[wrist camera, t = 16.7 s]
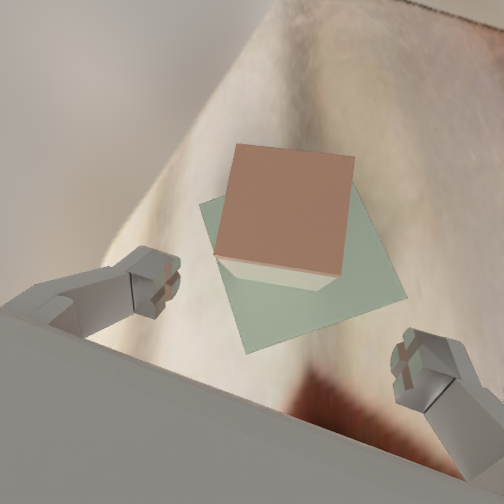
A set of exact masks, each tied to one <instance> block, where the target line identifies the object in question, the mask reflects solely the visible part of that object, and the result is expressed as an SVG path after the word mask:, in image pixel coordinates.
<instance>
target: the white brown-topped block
mask: <svg viewBox="0 0 504 504" xmlns="http://www.w3.org/2000/svg"><path fill="white" fill-rule="evenodd" d="M354 159H355V157H353V156H344V155H335V154H326V153H317V152H308V151H299V150H290V149H281V148H273V147H264V146H255V145H246V144H236V149H235V154H234V158H233V163H232V168H231V173H230V177H229V182H228V187H227V192H226V196H225V201H224V206H223V211H222V215H221V220H220V225H219V230H218V235H217V239H216V244H215V249H214V254H213V255H214V256H215V257H216V258H217V259H218V260H219V261H220V262H221V263H222V264H223V265H224V266H225V267H226V268H227V269H228V270H229V271H230V272H231V273H232V274H233V275H234V276H235V277H236V278H241V279H247V280H252V281H258V282H264V283H270V284H276V285H282V286H288V287H294V288H300V289H306V290H312V291H318V290H320V289H321V288H323V287H324V286H326V285H327V284H329V283H330V282H332V281H334V280H335V279H337V278H338V277H340V276H341V273H342V264H343V256H344V247H345V238H346V229H347V220H348V212H349V203H350V194H351V185H352V177H353V168H354Z"/></svg>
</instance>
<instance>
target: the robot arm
mask: <svg viewBox="0 0 504 504" xmlns="http://www.w3.org/2000/svg"><path fill="white" fill-rule="evenodd" d="M180 267H181V265H180V258H179V257H177V256H174V255H171V254H168V253H165V252H162V251H159V250H156V249H152V248H149V247H146V246H139V247H138V248H136V249H135V250H134V251H133V252H131V253H130V254H129V255H127V256H126V257H125V258H124V259H122V260H121V261H120V262H118V263H117V264H116V265H115V266H113V267H110V266H107V267H103V268H99V269H95V270H91V271H88V272H84V273H79V274H76V275H72V276H67V277H63V278H59V279H55V280H51V281H47V282H43V283H39V284H35V285H33V286H32V287H31V288H29V289H27V290H26V291H25V292H23V293H21V294H20V295H18V296H17V297H15V298H13V299H12V300H10V301H9V302H7V303H6V304H4V305H3V306H1V307H0V504H504V404H503V403H502V402H501V401H500V400H499V399H498V398H497V397H496V396H495V395H494V394H493V393H492V392H490V391H489V390H488V389H487V388H484V387H482V386H481V384H480V381H479V379H478V377H477V374H476V372H475V370H474V367H473V365H472V363H471V360H470V358H469V356H468V353H467V351H466V349H465V346H464V345H463V344H462V343H461V342H460V341H456V340H453V339H449V338H446V337H441V336H437V335H434V334H431V333H427V332H424V331H420V330H417V329H414V328H410V327H409V328H408V329H407V330H406V331H405V333H404V334H403V339H404V342H401V343H399V344H397V345H396V347H395V348H394V350H393V353H392V356H391V364H390V366H391V372H392V374H393V375H394V376H395V378H396V380H395V382H394V383H393V388H394V395H395V402H396V403H397V404H400V405H402V406H405V407H408V408H410V409H413V410H416V411H418V412H421V413H424V416H425V418H426V419H427V421H428V422H429V424H430V425H431V427H432V429H433V430H434V432H435V433H436V435H437V436H438V438H439V440H440V441H441V443H442V444H443V446H444V447H445V449H446V451H447V452H448V454H449V455H450V457H451V458H452V460H453V461H454V463H455V465H456V466H457V468H458V469H459V471H460V472H461V474H462V476H463V477H464V479H465V480H466V482H465V481H462V480H460V479H457V478H454V477H452V476H449V475H446V474H444V473H441V472H438V471H436V470H433V469H430V468H428V467H425V466H422V465H420V464H417V463H414V462H412V461H409V460H406V459H404V458H401V457H398V456H396V455H393V454H390V453H388V452H385V451H382V450H380V449H377V448H374V447H372V446H369V445H366V444H364V443H361V442H358V441H356V440H353V439H350V438H348V437H345V436H342V435H340V434H337V433H334V432H332V431H329V430H326V429H324V428H321V427H318V426H316V425H313V424H310V423H308V422H305V421H302V420H300V419H297V418H294V417H292V416H289V415H286V414H284V413H281V412H278V411H276V410H273V409H271V408H268V407H265V406H263V405H260V404H257V403H255V402H252V401H249V400H247V399H244V398H241V397H239V396H236V395H233V394H231V393H228V392H225V391H223V390H220V389H217V388H215V387H212V386H209V385H207V384H204V383H201V382H199V381H196V380H193V379H191V378H188V377H185V376H183V375H180V374H177V373H175V372H172V371H169V370H167V369H164V368H161V367H159V366H156V365H153V364H151V363H148V362H145V361H143V360H140V359H137V358H135V357H132V356H129V355H127V354H124V353H122V352H119V351H116V350H114V349H111V348H108V347H106V346H103V345H100V344H98V343H95V342H92V341H90V340H87V339H84V338H86V337H88V336H90V335H92V334H94V333H96V332H98V331H100V330H102V329H104V328H106V327H108V326H110V325H112V324H114V323H116V322H118V321H120V320H122V319H125V318H127V317H129V316H131V315H133V314H134V313H136V314H139V315H142V316H146V317H149V318H152V319H156V318H157V317H158V316H159V314H160V313H161V312H162V311H163V310H164V308H165V302H166V301H169V300H172V299H173V297H174V296H175V295H176V293H177V291H178V288H179V285H180V275H179V273H178V271H177V270H178V269H179V268H180Z"/></svg>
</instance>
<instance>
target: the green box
mask: <svg viewBox="0 0 504 504" xmlns="http://www.w3.org/2000/svg"><path fill="white" fill-rule="evenodd" d="M225 196H226V195H225ZM225 196H222V197H219V198H216V199H213V200H210V201H207V202H205V203H202V204H199V206H200V210H201V213H202V216H203V219H204V222H205V225H206V229H207V232H208V235H209V238H210V241H211V245H212V248H213V251H214V249H215V244H216V239H217V235H218V230H219V225H220V220H221V215H222V211H223V206H224V201H225ZM216 260H217V264H218V267H219V270H220V273H221V276H222V279H223V283H224V286H225V289H226V292H227V295H228V298H229V302H230V305H231V308H232V311H233V314H234V317H235V321H236V324H237V327H238V330H239V333H240V337H241V340H242V343H243V346H244V349H245V352H246V354H249V353H252V352H255V351H258V350H261V349H263V348H266V347H269V346H272V345H275V344H278V343H281V342H283V341H286V340H289V339H292V338H295V337H298V336H301V335H303V334H306V333H309V332H312V331H315V330H318V329H321V328H323V327H326V326H329V325H332V324H335V323H338V322H341V321H343V320H346V319H349V318H352V317H355V316H358V315H361V314H363V313H366V312H369V311H372V310H375V309H378V308H381V307H383V306H386V305H389V304H392V303H395V302H398V301H401V300H403V299H406V298H408V297H407V295H406V293H405V291H404V288H403V286H402V284H401V282H400V280H399V278H398V276H397V274H396V272H395V269H394V267H393V265H392V263H391V261H390V259H389V257H388V255H387V253H386V250H385V248H384V246H383V244H382V242H381V240H380V238H379V236H378V234H377V231H376V229H375V227H374V225H373V223H372V221H371V219H370V217H369V215H368V212H367V210H366V208H365V206H364V204H363V202H362V200H361V198H360V196H359V193H358V191H357V189H356V187H355V185H354V183H353V181H352V185H351V194H350V203H349V212H348V220H347V229H346V238H345V247H344V256H343V264H342V273H341V276H340V277H338V278H337V279H335V280H334V281H332V282H330V283H329V284H327V285H326V286H324V287H323V288H321V289H320V290H318V291H312V290H306V289H300V288H294V287H288V286H282V285H276V284H270V283H264V282H258V281H252V280H247V279H241V278H236V277H235V276H234V275H233V274H232V273H231V272H230V271H229V270H228V269H227V268H226V267H225V266H224V265H223V264H222V263H221V262H220V261H219V260H218V259H217V258H216Z"/></svg>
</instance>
